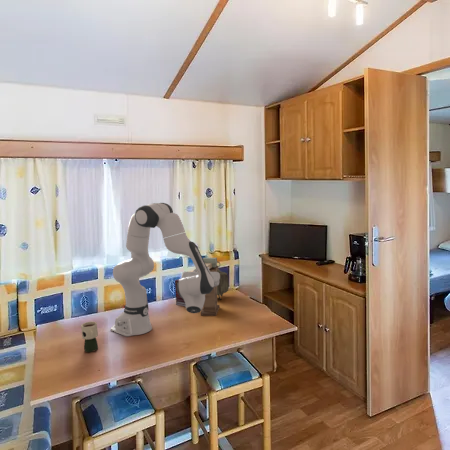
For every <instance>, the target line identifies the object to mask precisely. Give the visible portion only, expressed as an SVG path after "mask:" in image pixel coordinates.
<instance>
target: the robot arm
mask: <svg viewBox="0 0 450 450" xmlns="http://www.w3.org/2000/svg"><path fill="white" fill-rule="evenodd" d="M173 211H174V210H173V208H172V206H171V205H170V204H168V203H165V202H154V203H153V202H152V203H150V204H146V205H145V204H144V205H142V206H140V207H138V208H137V209H136V210H135V212H134V213H133V214H132V215H131V217H130V220H129V224H128V227H127V228H128V229H127V234H126V244H125V248H126V250H127V251H128V252H130V255H131V256H130V257H131V258H129V259H126V260H124V261H120V262H119V263H118V264H116V265H115V266H114V267H113V269H112V276H113V278H114V280H115V281H116V282H117V283H119V285H121V286H122V289H123V292H124V296H125V297H124V298H125V305H122V309H123V311H122V312H121V313H120V314H119V315H118V316H116V317H115V320H114V325H112V326H111V327H110V331H111V332H113V331H114V332H113V333H117V334H119V335H121V336H123V337H131V336H139V335H143V334H144V335H145V334H147V333H149V332H150V331H152V329H153V326H152V324H151V320H150V314H149V303H148V296H147V289H146V287H145V286H143V285H141V282H140V279H141V278H143V277H146V276H148V275H149V274H150V273H152V272H153V270H154V269H155V262H154V259H153V258H152V257H151V256H150V254H149V240H150V234H151V233H150V232H151V229H155V228H156V227H157V228H159V230H160V232H161V235H162V239H163V243H164V246H165V247H166V249H167V251H169V252H171V253H174V254H175V255H183V256H187V257H189V258H190V259H191V261H192V263H193V266H194V267H195V268H194V270H193V271H182V273H181V278H179V279H180V280H179V281H178V283H177V293H178V295H179V296H180V297H181V298H182V299H184V301H185V304H186V306H185V310H186V311H187V312H188V313H190V314H199V313H201V312H202V310H203V306H204V302H205V295H206V294H209V293H210V292H211V291H212V290H213V288H214V287H216V286H218V285H219V279H220V273H219V272H210V270H209V267H206V265H205V262H204V260H203V258H204V257H203V256H202V254H201V252H200V250H199V248H198V246H197V244H196V243H195V242H194V241H191V240H190V239H189V237H188V235H187V233H186V229H185V228H184V227H185V226H184V225H183V222H182V220H181V218H180V216H179V215H178V214H177V213H176V212H173Z"/></svg>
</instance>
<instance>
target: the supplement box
mask: <svg viewBox="0 0 450 450" xmlns="http://www.w3.org/2000/svg"><path fill="white" fill-rule="evenodd" d="M180 279H181V278H178V279H175V280H174V285H175V286H174V288H175V289H174V290H175V305H177V306H182V307H186V304H185V301H184V299H182V298H181V297H180V296H179V295H178V293H177V283H178V281H179V280H180Z"/></svg>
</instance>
